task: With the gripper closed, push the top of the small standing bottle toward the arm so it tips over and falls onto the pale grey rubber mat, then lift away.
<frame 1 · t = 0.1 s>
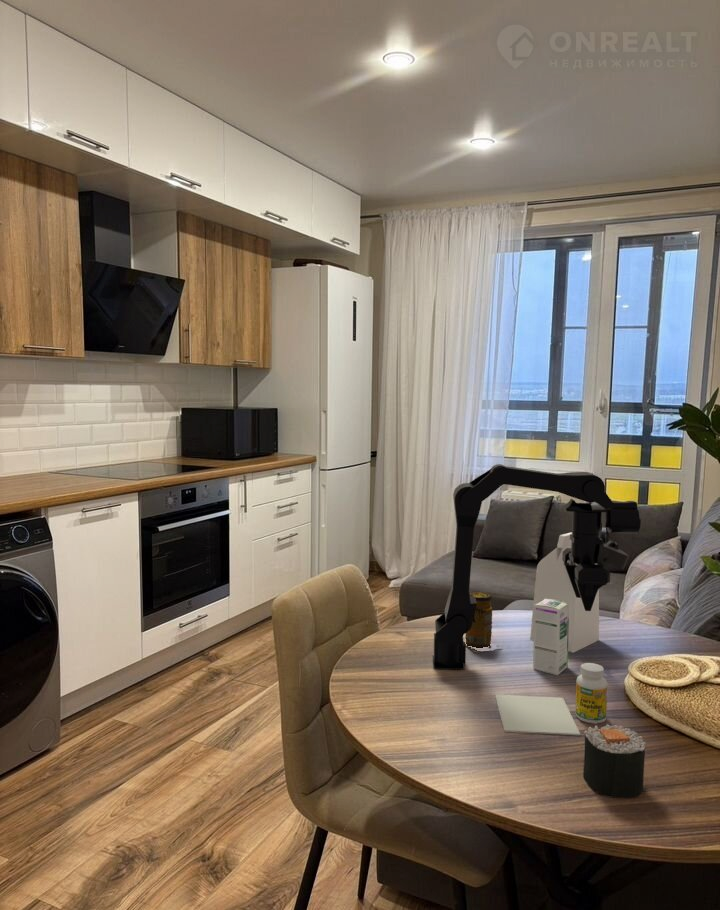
hand: (583, 604, 143), 15 cm above the table, tool pointing down, fingers open, 9 cm apart
condiment: (479, 646, 158), on the table
supplement bottle: (590, 718, 123), on the table
milk: (564, 640, 162), on the table
syrup box: (549, 669, 145), on the table
mat: (535, 714, 124), on the table
sushi: (612, 784, 102), on the table
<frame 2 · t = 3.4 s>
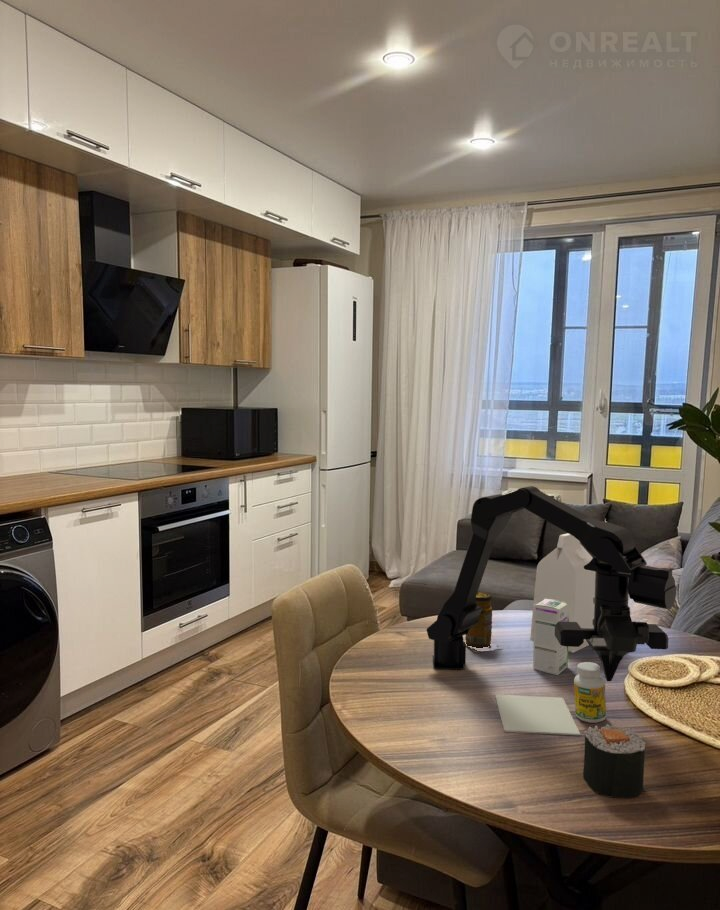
hand: (608, 680, 122), 7 cm above the table, tool pointing down, fingers closed
supplement bottle: (590, 717, 123), on the table, touching gripper
everything else where it was.
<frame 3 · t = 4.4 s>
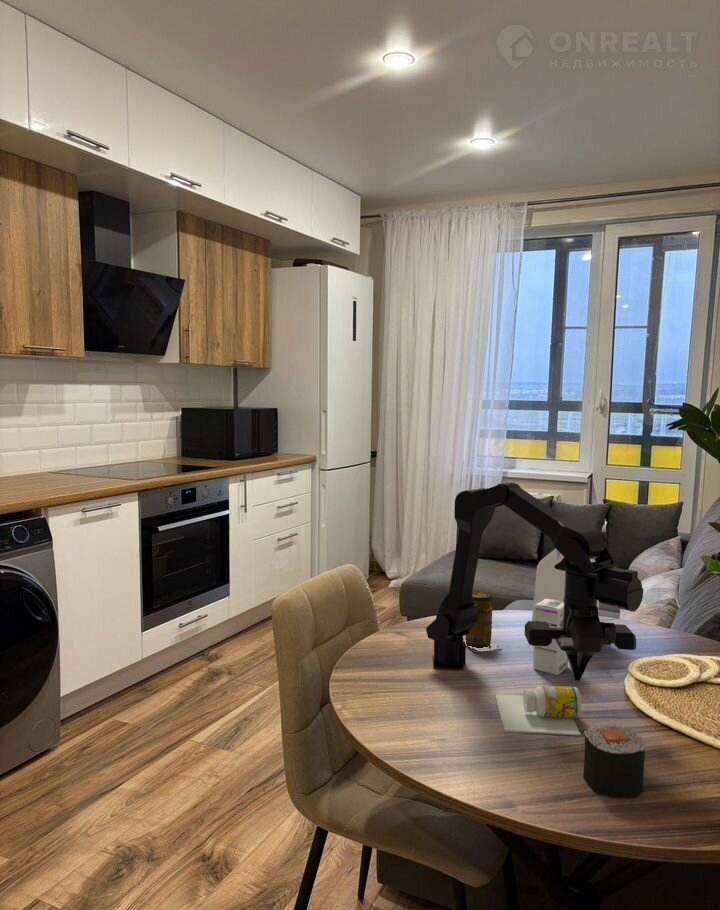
hand: (576, 680, 123), 7 cm above the table, tool pointing down, fingers closed
supplement bottle: (579, 702, 122), point 3 cm above the table, touching mat
everything else where it was.
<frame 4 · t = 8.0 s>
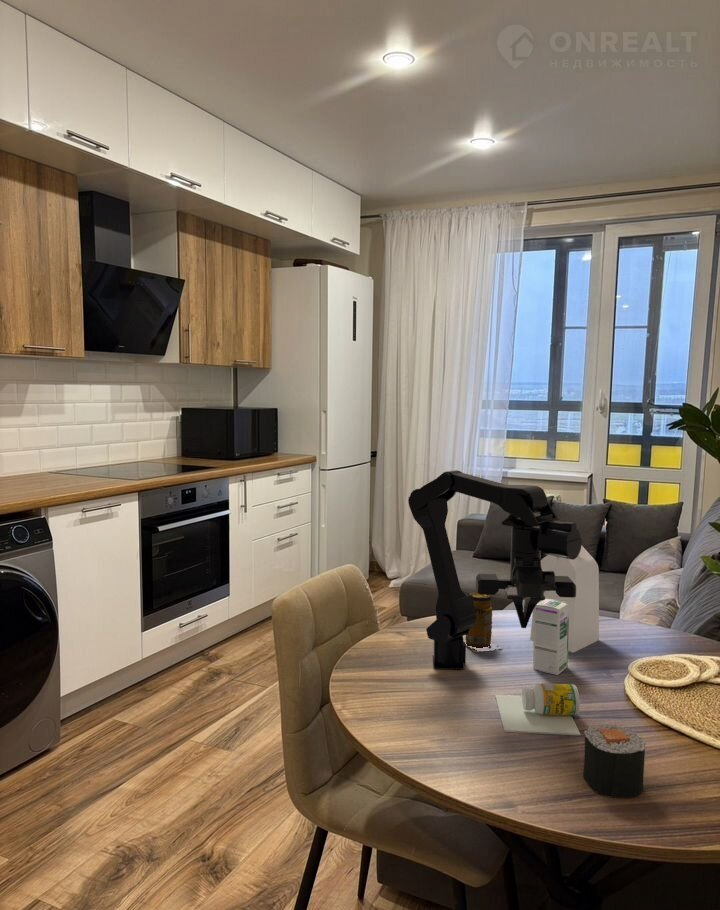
hand: (523, 627, 132), 13 cm above the table, tool pointing down, fingers closed
supplement bottle: (577, 700, 123), point 3 cm above the table, touching mat
everything else where it was.
at the end: supplement bottle tilted 90°; supplement bottle inside the target area (3.6 cm from its centre), point 2.9 cm above the table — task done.
